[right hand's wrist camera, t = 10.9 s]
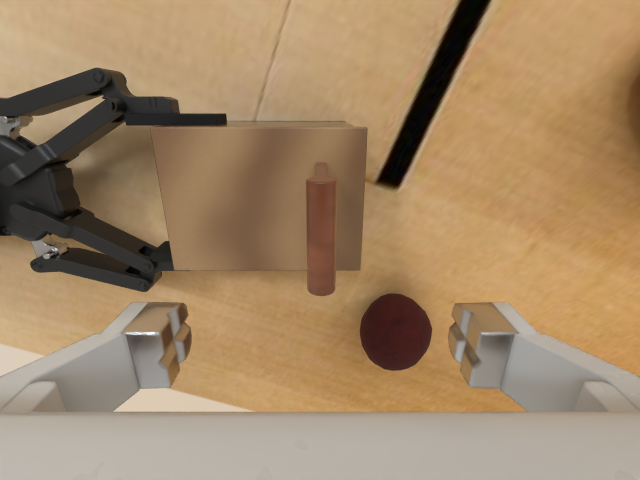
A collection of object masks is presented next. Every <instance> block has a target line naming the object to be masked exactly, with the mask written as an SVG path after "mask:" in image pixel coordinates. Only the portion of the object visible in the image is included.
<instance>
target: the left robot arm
mask: <svg viewBox="0 0 640 480" xmlns="http://www.w3.org/2000/svg"><path fill="white" fill-rule="evenodd" d="M102 95H104V97H102V98H103V99H106V100H104V101H103V102H101V103H100V104H99V105H97V106H96V107H94V108H93V109H92V110H90V111H89V112H87V113H86V114H85V115H83V116H82V117H81V118H79V119H78V120H76V121H75V122H74V123H72V124H71V125H69V126H68V127H67V128H65V129H64V130H62V131H61V132H60V133H58V134H57V135H55V136H54V137H53V138H51V139H50V140H49V141H47V142H46V143H44V144H41V145H38V146H37V145H36V144H34V143H33V142H31V141H29V140H28V139H26V138H24V137H23V136H20V135H19V131H20V129H21V128H22V127H26V126H28V125H29V124H30V122H32V121H33V117H32V116H39V115H45V114H49V113H52V112H55V111H58V110H61V109H64V108H67V107H69V106H72V105H75V104H78V103H81V102H84V101H87V100H90V99H93V98H96V97H99V96H102ZM125 121H126V125H220V124H226V123H227V118H226V114H180V112H179V105H178V100H176V99H174V98H171V97H136V96H134V95H133V94H131V93H130V91H129V90H128V88H127V86H126V78H125V76H124V75H123V74H122V73H121V72H118V71H112V70H107V69H102V68H94V69H91V70H88V71H85V72H82V73H79V74H76V75H73V76H71V77H68V78H65V79H62V80H59V81H56V82H53V83H51V84H48V85H45V86H42V87H39V88H36V89H33V90H30V91H28V92H25V93H22V94H19V95H16V96H13V97H10V98H0V236H10V235H13V236H17V237H20V238H23V239H25V240H28V241H31V243H32V245H33V248H34V250H35V253H36V255H37V258H36V259H34V260H32V261H31V263H30V265H31V268H32V269H33V270H34V271H36V272H40V273H41V272H59V271H60V272H64V273H68V274H72V275H76V276H80V277H84V278H88V279H93V280H97V281H101V282H105V283H109V284H113V285H117V286H121V287H125V288H129V289H133V290H137V291H141V292H146V291H148V290H149V289H150V288H151V287H152V286H153V285H154V284H155V283H156V282H157V281H158V280H159V279H160V278H161V276H162V272H161V271H190V270H174V266H173V260H172V254H171V248H170V243H169V241H165V242H164V243H163V244H161V245H160V246H159V247H158V248H157V247H155V246H153V245H151V244H149V243H147V242H145V241H142V240H140V239H138V238H136V237H134V236H132V235H130V234H128V233H126V232H124V231H122V230H120V229H118V228H116V227H114V226H112V225H110V224H108V223H106V222H103V221H101V220H99V219H97V218H95V217H94V214H93V213H92V212H90V211H88V210H86V209H84V208H82V207H80V206H79V205H80V201H79V197H78V195H77V193H76V191H75V189H74V187H73V174H72V171H71V168H67V167H66V164H67V163H69V162H70V161H71V160H73V159H74V158H76V157H77V156H79V153H80V152H82V151H83V150H84V149H86V148H87V147H89V146H90V145H92V144H93V143H95V142H96V141H97V140H99V139H100V138H102V137H103V136H105V135H106V134H108V133H109V132H110V131H112V130H113V129H115V128H116V127H118V126H119V125H120V124H122V123H123V122H125ZM51 234H55V235H57V236H59V237H62V238H72V239H75V240H77V241H79V242H81V243H83V244H85V245H87V246H89V247H92V248H94V249H96V250H98V251H100V252H102V253H104V254H101V253H97V252H93V251H89V250H85V249H81V248H69V245H68V244H67V243H63V244H62V243H58V242H55V241H53V240H52V239H51V237H50V235H51ZM105 254H106V255H105Z"/></svg>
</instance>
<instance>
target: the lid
mask: <svg viewBox="0 0 640 480" xmlns="http://www.w3.org/2000/svg"><path fill="white" fill-rule="evenodd" d="M150 132H151V138H152V143H153V149H154V155H155V161H156V167H157V173H158V178H159V184H160V190H161V196H162V202H163V208H164V213H165V219H166V225H167V231H168V237H169V243H170V248H171V254H172V260H173V266H174V270H307V289H308V291H309V292H310V293H311V294H313V295H317V296H326V295H330V294H332V293H333V292H334V290H335V272H336V270H360V267H361V247H362V227H363V207H364V187H365V167H366V147H367V128H366V127H211V126H156V127H150Z"/></svg>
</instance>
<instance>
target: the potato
mask: <svg viewBox="0 0 640 480" xmlns="http://www.w3.org/2000/svg"><path fill="white" fill-rule="evenodd" d="M431 334H432V327H431V324H430V321H429V318H428V316H427V314H426V312H425V311H424V310H423V309H422V308H421V307H420V306H419V305H418V304H417V303H416V302H415V301H413V300H412V299H410V298H408V297H406V296H403V295H401V294H387V295H384V296H381V297H380V298H378V299H377V300H376V301H374V302H373V303H372V304H371V305H370V306H369V308H368V309H367V311H366V312H365V314H364V316H363V318H362V321H361V327H360V336H361V342H362V346H363V348H364V350H365V352H366V353H367V355H368V357H369V359H370V360H371V361H372V362H374V363H375V364H376V365H378V366H380V367H382V368H383V369H387V370H392V371H393V370H403V369H407V368H409V367H411V366H413V365H415V364H416V363H417V362H418V361H419V360H420V359H421V357H422V356H423V355H424V354H425V352H426V351H427V349H428V347H429V345H430V340H431Z"/></svg>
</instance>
